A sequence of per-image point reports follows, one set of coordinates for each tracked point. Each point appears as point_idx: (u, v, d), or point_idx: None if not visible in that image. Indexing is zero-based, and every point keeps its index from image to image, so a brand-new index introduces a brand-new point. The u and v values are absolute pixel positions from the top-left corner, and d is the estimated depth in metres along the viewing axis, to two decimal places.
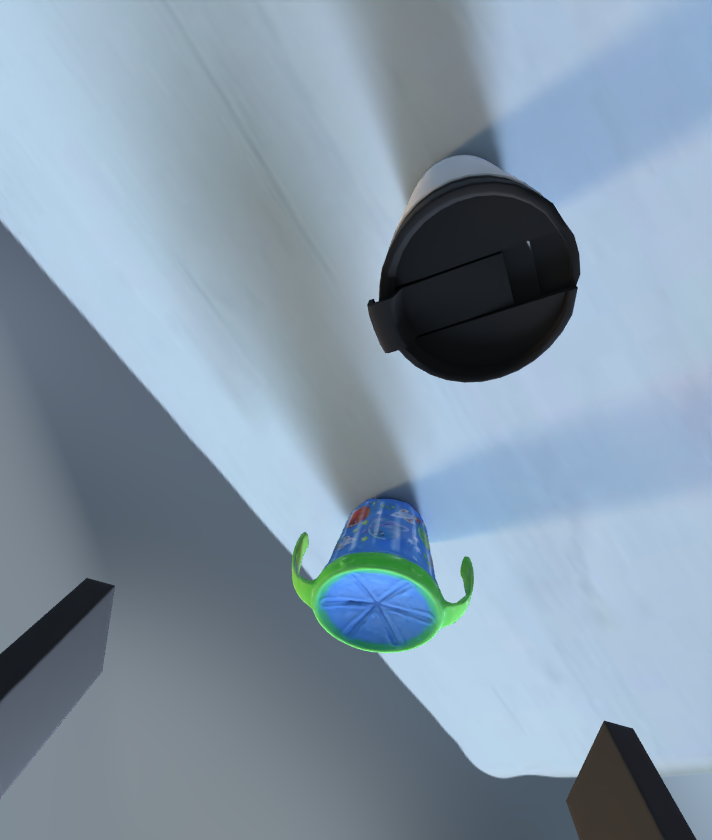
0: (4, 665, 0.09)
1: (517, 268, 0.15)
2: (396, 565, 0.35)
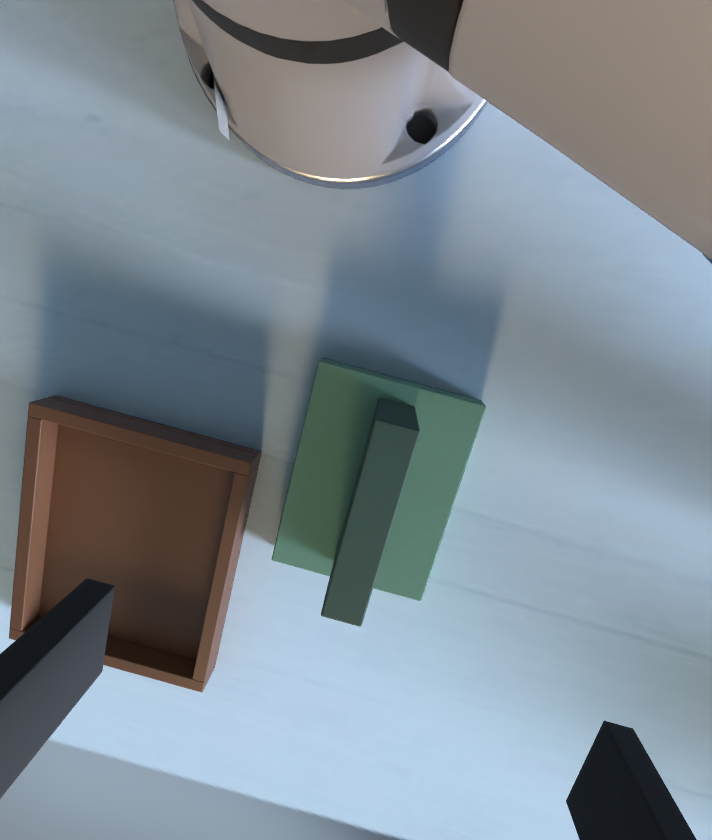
0: (4, 665, 0.09)
1: None
2: None
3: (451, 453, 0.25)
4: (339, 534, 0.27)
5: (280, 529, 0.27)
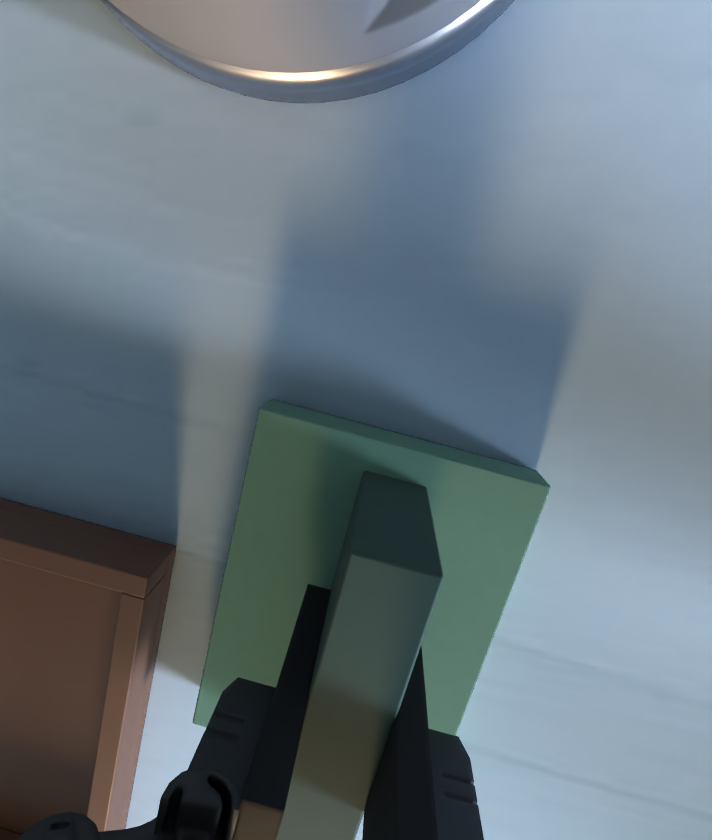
0: (297, 655, 0.11)
1: None
2: None
3: (488, 564, 0.15)
4: None
5: (204, 677, 0.17)
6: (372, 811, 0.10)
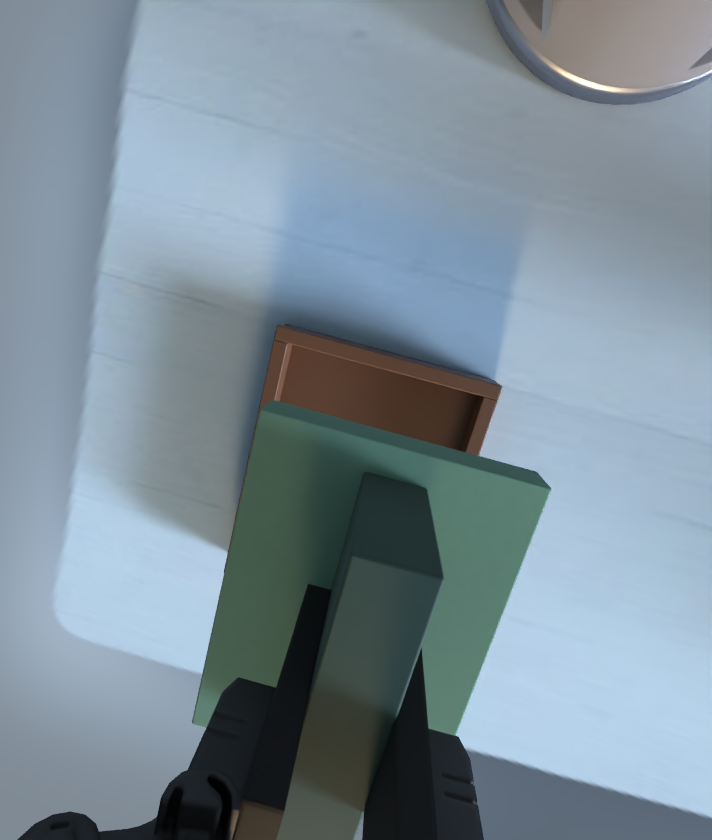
0: (297, 655, 0.11)
1: None
2: None
3: (489, 566, 0.15)
4: None
5: (204, 678, 0.17)
6: (372, 811, 0.10)
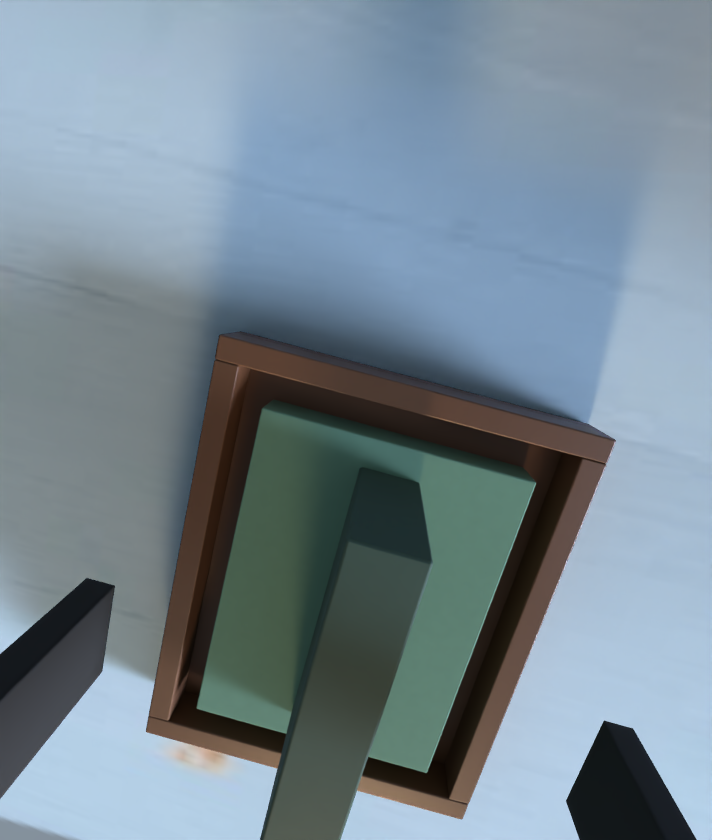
0: (4, 665, 0.09)
1: None
2: None
3: (478, 556, 0.16)
4: (299, 673, 0.17)
5: (208, 664, 0.17)
6: None
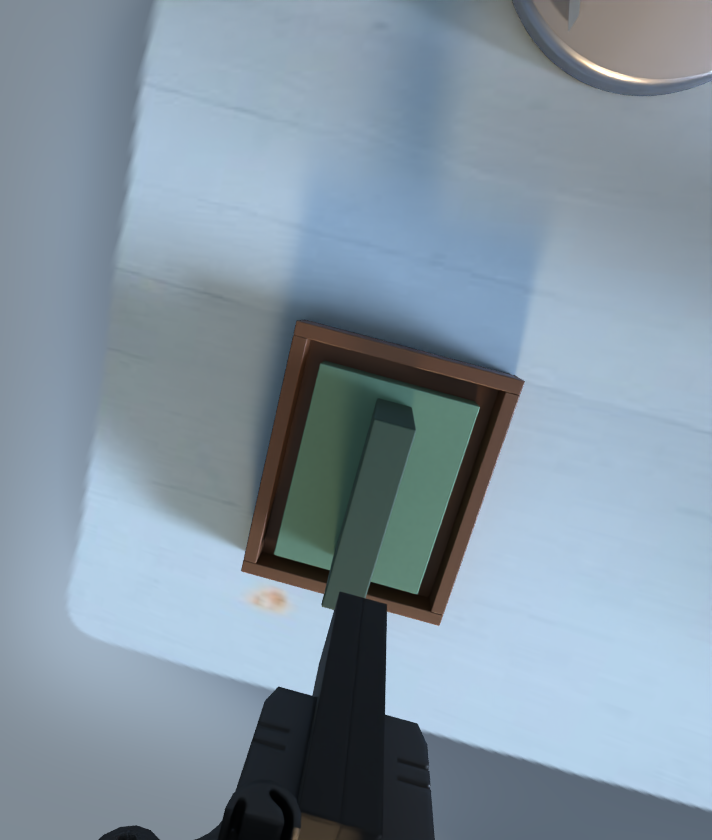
0: (336, 665, 0.12)
1: None
2: None
3: (446, 452, 0.26)
4: (339, 529, 0.28)
5: (282, 524, 0.28)
6: None
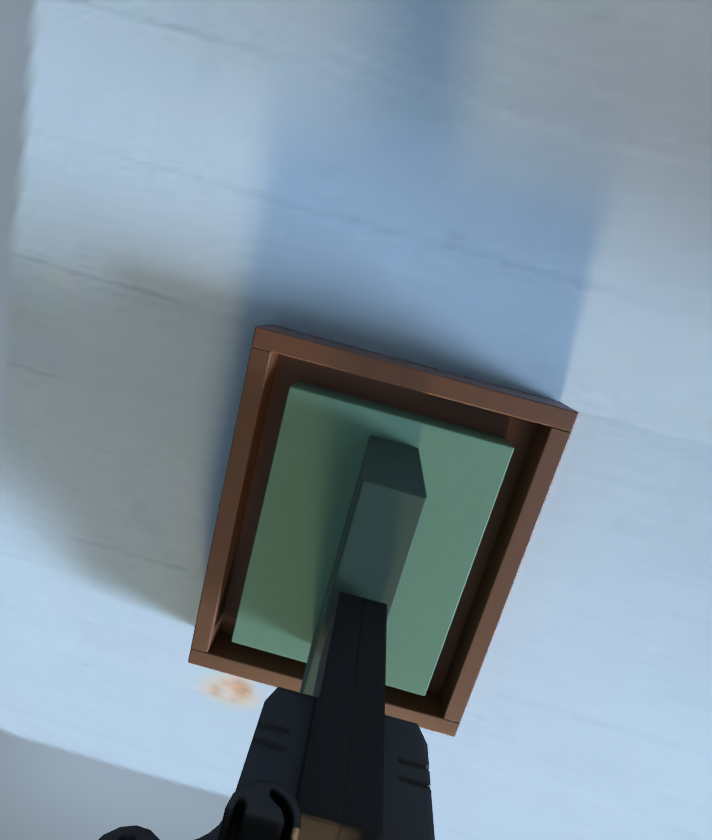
0: (336, 665, 0.12)
1: None
2: None
3: (467, 509, 0.19)
4: (318, 611, 0.21)
5: (241, 603, 0.21)
6: None
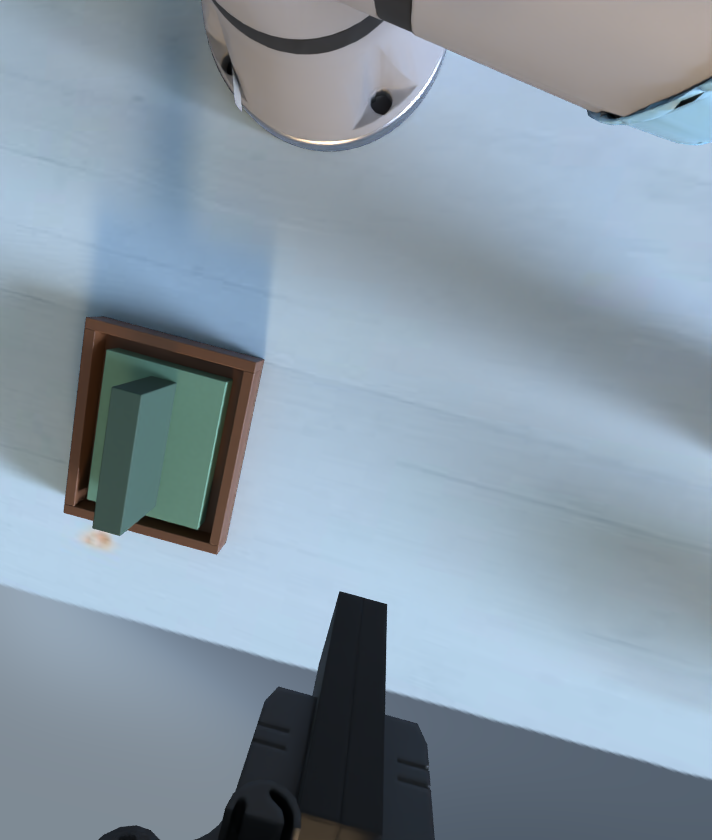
0: (336, 665, 0.12)
1: None
2: None
3: (206, 417, 0.35)
4: None
5: (90, 475, 0.37)
6: None
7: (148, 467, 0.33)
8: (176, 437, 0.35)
